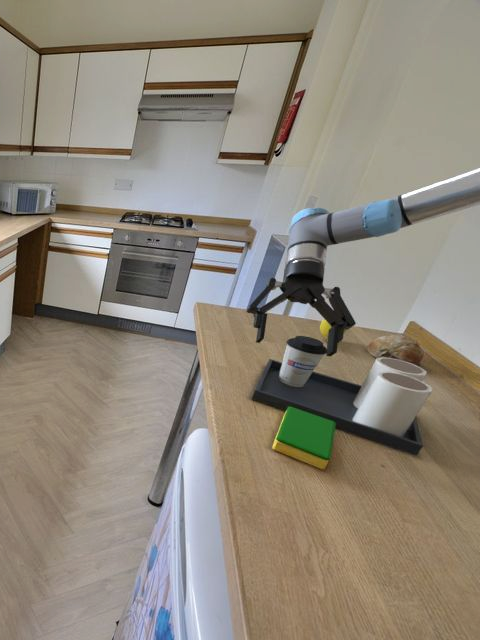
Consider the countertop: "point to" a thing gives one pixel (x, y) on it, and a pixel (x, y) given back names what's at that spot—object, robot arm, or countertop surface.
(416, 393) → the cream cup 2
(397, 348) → the bread roll
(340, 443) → the countertop surface
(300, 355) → the coffee cup
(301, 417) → the dish sponge
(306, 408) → the cup tray
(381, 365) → the cream cup
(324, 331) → the lemon
